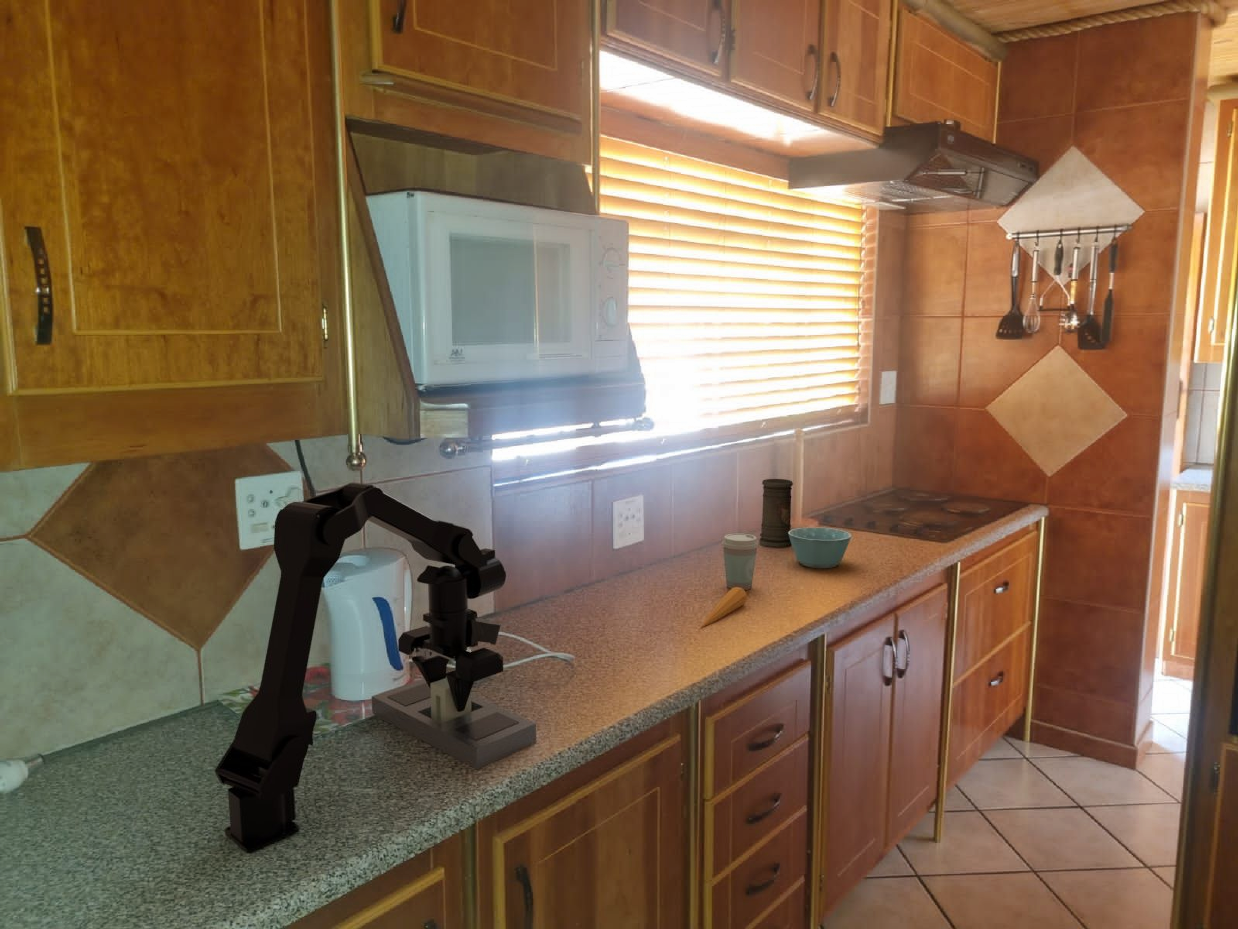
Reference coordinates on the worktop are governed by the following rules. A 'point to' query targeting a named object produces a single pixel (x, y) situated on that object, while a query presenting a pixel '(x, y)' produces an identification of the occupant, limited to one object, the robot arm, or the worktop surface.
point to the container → (776, 513)
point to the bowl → (819, 546)
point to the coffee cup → (739, 559)
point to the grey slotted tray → (456, 725)
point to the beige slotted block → (445, 702)
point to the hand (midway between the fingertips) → (450, 706)
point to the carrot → (727, 604)
